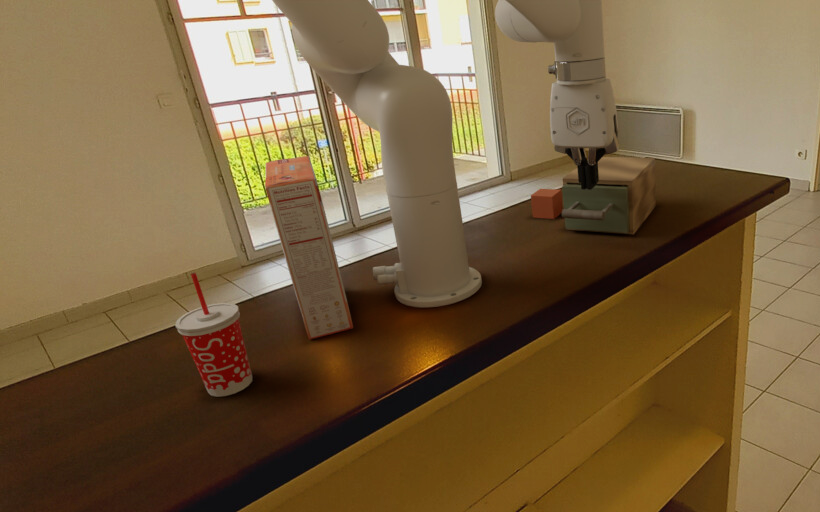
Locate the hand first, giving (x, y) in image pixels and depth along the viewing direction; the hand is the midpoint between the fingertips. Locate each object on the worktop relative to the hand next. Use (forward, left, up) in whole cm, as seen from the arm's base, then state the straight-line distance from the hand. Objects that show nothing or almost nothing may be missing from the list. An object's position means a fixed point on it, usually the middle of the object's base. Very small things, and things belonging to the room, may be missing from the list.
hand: (589, 186), depth 100 cm
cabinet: (+5, +11, -10) cm, 15 cm away
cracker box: (-39, -19, -10) cm, 45 cm away
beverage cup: (-45, -35, -10) cm, 58 cm away
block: (-7, +16, -10) cm, 20 cm away
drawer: (+3, +6, -9) cm, 11 cm away
